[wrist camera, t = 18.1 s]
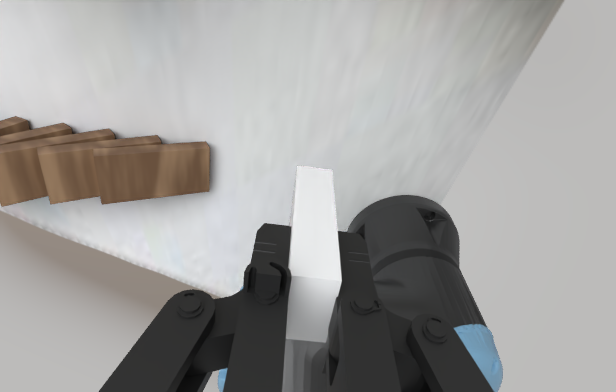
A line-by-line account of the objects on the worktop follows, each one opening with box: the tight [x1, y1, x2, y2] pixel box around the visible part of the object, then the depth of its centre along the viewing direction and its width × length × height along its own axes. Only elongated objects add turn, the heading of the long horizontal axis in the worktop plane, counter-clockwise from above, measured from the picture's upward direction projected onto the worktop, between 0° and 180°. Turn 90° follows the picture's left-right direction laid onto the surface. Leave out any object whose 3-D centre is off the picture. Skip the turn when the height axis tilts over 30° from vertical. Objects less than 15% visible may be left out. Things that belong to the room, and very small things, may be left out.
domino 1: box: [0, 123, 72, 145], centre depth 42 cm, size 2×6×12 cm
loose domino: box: [93, 142, 210, 204], centre depth 45 cm, size 2×6×12 cm
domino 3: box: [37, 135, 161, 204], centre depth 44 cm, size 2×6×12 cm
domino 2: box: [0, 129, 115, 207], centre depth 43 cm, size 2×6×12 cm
